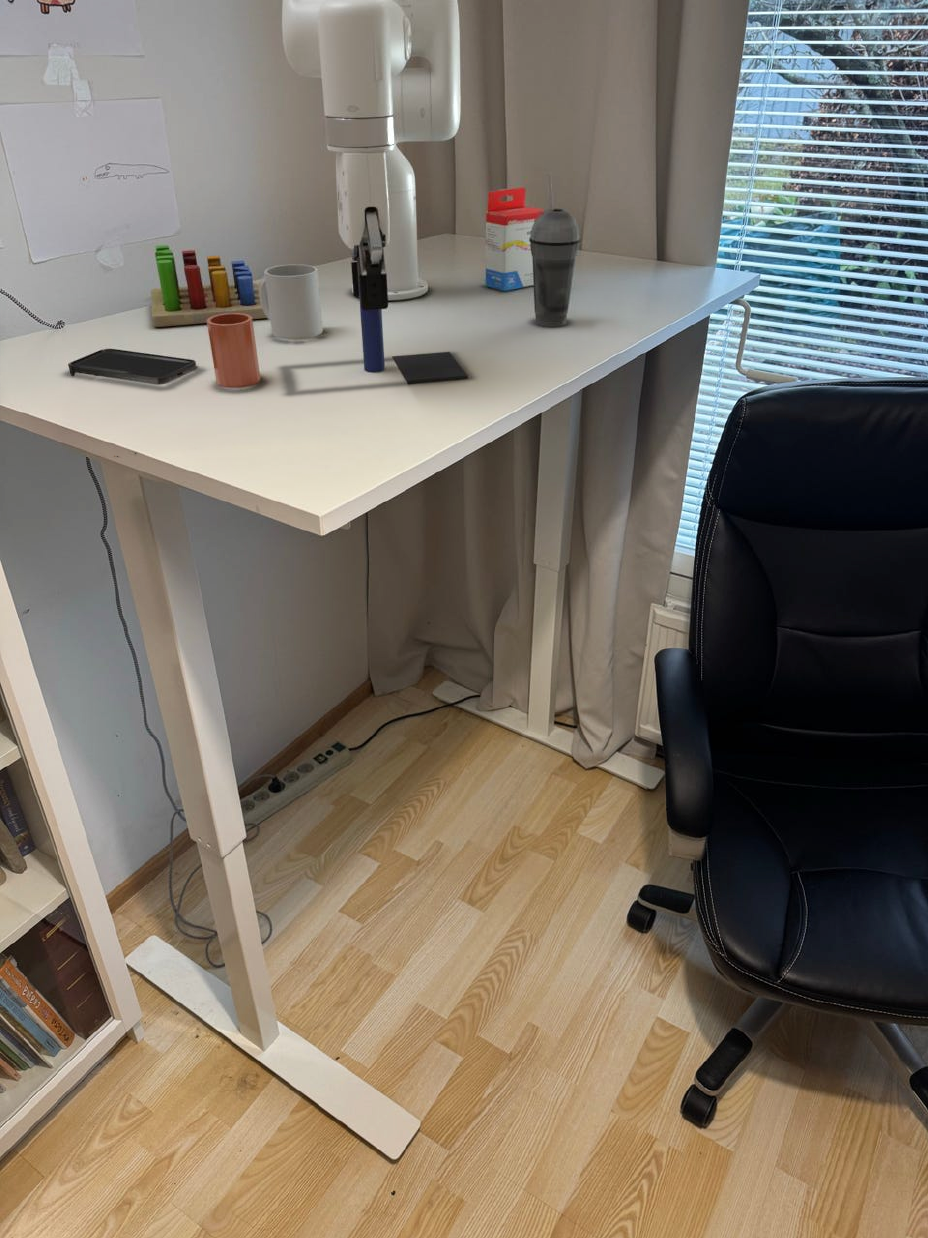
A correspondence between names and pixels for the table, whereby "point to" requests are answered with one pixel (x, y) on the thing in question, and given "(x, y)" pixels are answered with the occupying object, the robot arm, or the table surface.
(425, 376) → the desk mat
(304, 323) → the cup
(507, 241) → the ink box
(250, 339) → the tumbler
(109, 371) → the phone
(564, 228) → the beverage cup
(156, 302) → the peg board
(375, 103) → the robot arm
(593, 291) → the table surface
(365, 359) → the marker
